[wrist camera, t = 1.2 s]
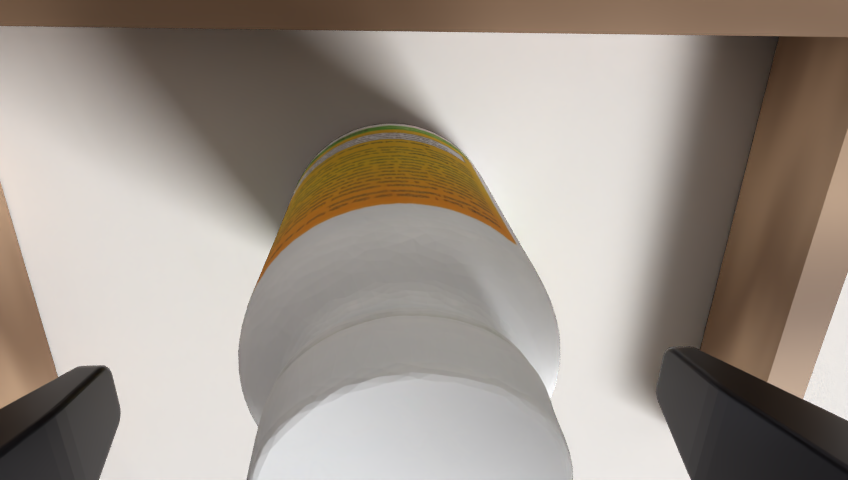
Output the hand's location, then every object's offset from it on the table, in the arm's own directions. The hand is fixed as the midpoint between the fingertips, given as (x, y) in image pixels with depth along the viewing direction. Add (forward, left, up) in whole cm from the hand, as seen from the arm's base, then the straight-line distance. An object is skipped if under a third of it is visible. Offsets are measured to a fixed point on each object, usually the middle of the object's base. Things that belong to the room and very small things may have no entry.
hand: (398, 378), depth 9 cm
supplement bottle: (0, 0, -7) cm, 7 cm away
